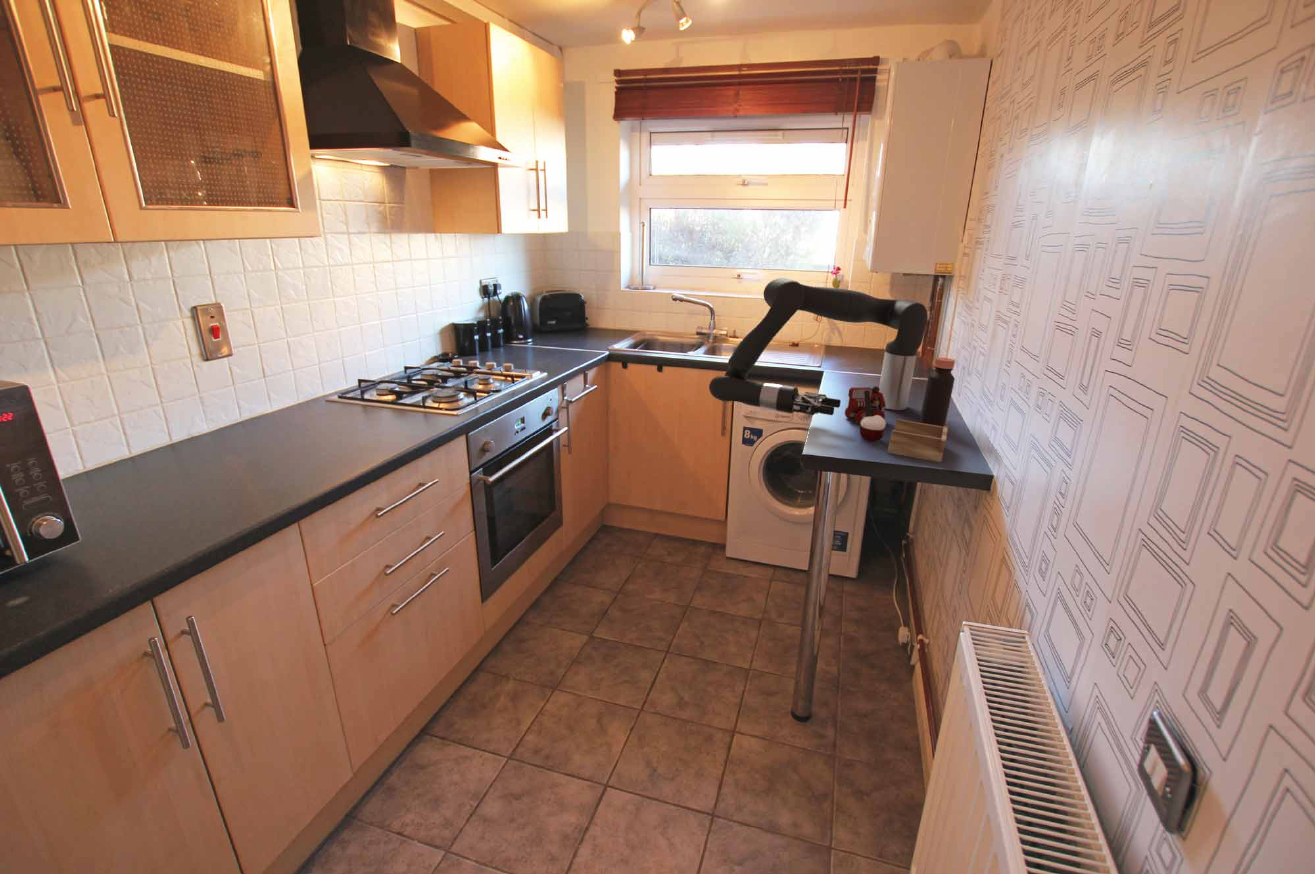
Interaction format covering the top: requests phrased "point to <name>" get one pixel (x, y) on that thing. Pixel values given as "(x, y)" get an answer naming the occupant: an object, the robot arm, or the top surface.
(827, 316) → the robot arm
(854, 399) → the toy fire truck
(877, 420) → the cocoa
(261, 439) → the top surface
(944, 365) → the bottle
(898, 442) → the wooden tray
